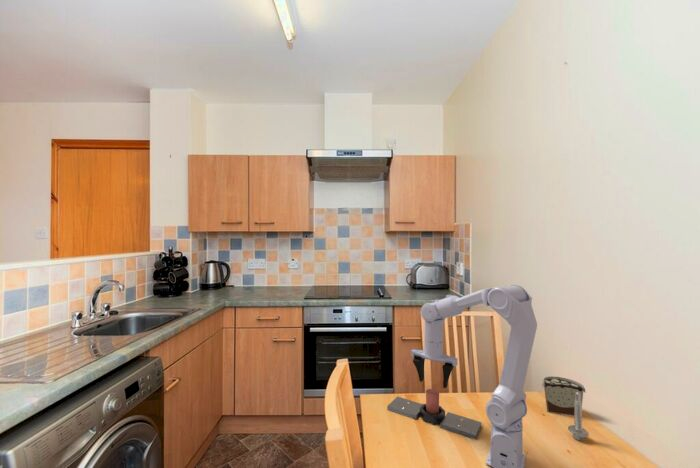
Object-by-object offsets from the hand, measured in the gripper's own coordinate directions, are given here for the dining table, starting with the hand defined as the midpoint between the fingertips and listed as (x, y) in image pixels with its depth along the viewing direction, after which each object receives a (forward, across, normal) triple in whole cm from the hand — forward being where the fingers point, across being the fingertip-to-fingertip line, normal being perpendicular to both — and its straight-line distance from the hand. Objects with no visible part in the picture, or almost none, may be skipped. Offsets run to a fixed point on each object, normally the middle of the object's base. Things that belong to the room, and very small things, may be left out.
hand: (433, 383), depth 99 cm
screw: (+11, -38, -13) cm, 42 cm away
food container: (+11, -34, -29) cm, 46 cm away
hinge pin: (+10, 0, 0) cm, 10 cm away
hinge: (+10, 0, 0) cm, 10 cm away
